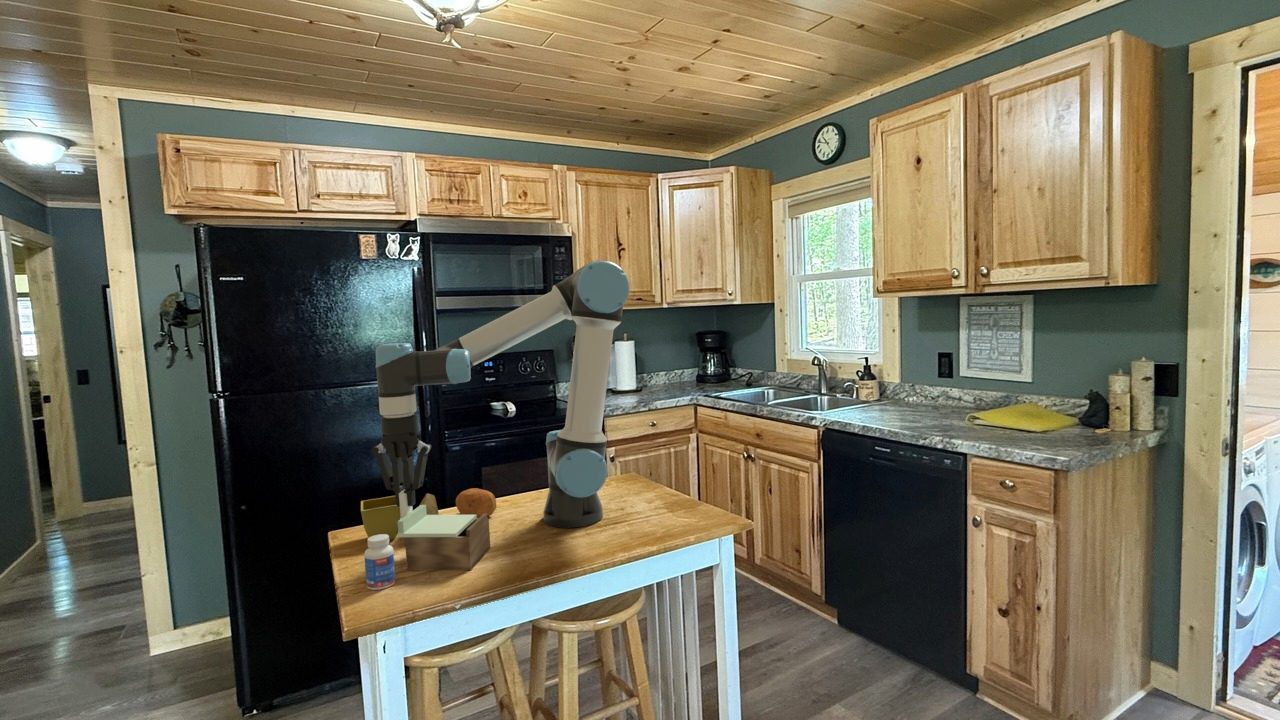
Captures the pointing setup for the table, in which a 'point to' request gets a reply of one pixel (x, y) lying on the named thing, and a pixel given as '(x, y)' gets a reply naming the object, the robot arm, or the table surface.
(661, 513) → the table surface
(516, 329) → the robot arm
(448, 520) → the lid
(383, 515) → the flower pot
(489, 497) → the potato
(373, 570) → the pill bottle
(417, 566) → the box
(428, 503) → the rock
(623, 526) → the table surface
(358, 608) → the table surface
